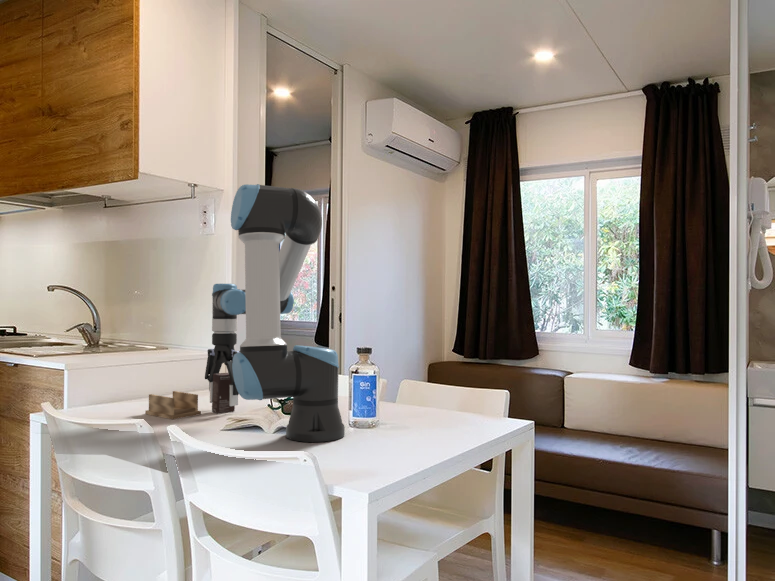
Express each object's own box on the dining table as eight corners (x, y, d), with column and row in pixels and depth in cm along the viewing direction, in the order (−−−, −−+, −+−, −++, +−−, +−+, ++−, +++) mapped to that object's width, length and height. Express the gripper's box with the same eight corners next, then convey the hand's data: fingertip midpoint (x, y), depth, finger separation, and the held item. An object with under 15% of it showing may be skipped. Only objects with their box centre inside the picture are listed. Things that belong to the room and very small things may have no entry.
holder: (201, 414, 184) (201, 394, 184) (172, 419, 176) (172, 398, 176) (174, 409, 192) (174, 390, 192) (145, 413, 184) (145, 394, 184)
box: (218, 414, 184) (218, 375, 185) (211, 412, 188) (211, 373, 188) (236, 411, 189) (236, 373, 189) (228, 409, 192) (229, 372, 192)
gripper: (256, 333, 185) (256, 405, 185) (212, 330, 198) (211, 398, 198) (237, 334, 179) (236, 409, 179) (193, 331, 192) (192, 401, 192)
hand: (223, 403), depth 188 cm, fingers open, 9 cm apart
